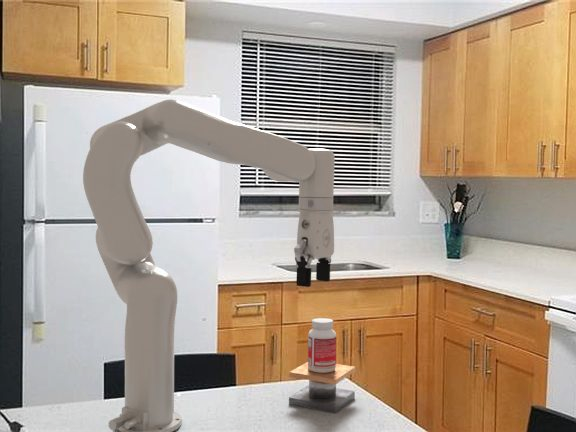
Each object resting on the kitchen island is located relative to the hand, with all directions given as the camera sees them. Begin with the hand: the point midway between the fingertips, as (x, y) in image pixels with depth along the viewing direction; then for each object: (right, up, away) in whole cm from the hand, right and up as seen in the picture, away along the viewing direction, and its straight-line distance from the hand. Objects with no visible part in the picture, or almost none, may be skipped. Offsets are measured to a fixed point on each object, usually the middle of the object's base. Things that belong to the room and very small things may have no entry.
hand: (313, 283), depth 146 cm
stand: (+2, -26, +1) cm, 26 cm away
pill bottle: (+2, -19, +1) cm, 19 cm away
